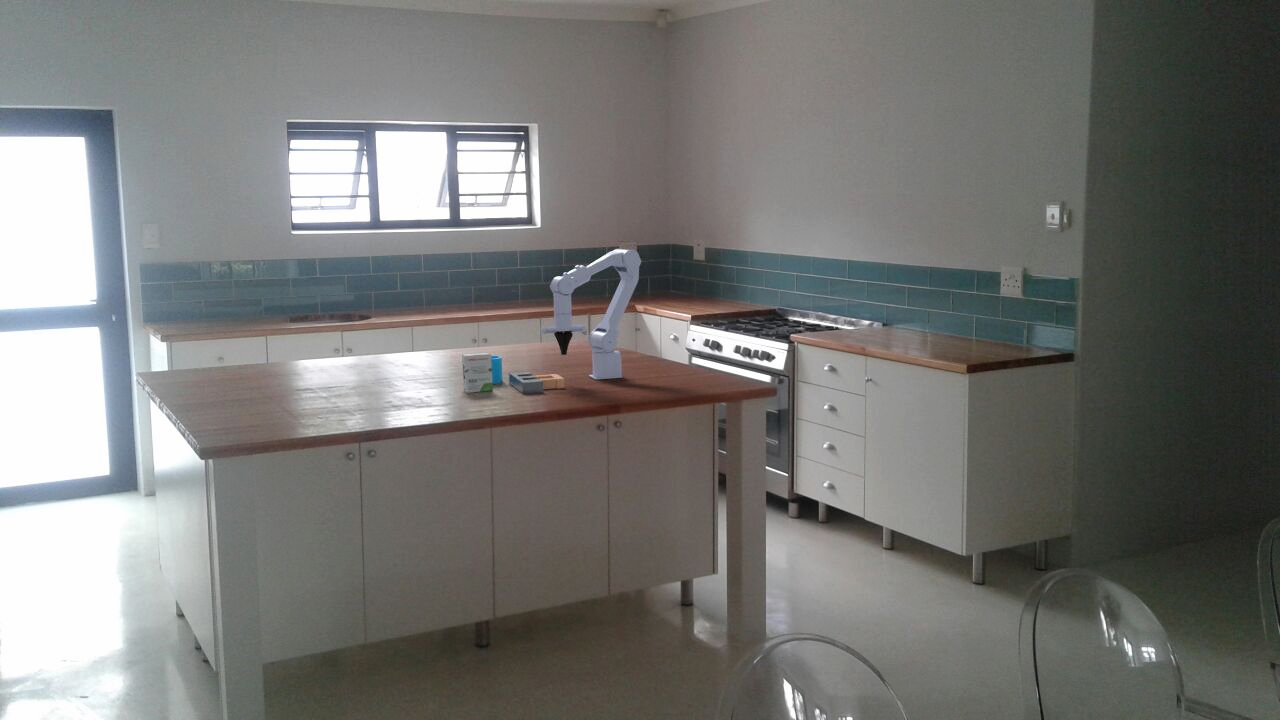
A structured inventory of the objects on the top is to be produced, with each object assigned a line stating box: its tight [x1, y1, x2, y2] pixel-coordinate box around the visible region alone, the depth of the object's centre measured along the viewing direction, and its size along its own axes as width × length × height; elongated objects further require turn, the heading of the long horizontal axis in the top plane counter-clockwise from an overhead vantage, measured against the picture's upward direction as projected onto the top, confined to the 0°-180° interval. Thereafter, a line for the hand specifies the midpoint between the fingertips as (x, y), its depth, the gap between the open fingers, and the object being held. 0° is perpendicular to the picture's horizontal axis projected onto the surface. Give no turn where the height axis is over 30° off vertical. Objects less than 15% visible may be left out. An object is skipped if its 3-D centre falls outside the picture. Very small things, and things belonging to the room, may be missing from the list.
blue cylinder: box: [491, 355, 503, 385], centre depth 376 cm, size 12×8×8 cm
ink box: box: [461, 352, 494, 394], centre depth 358 cm, size 9×5×12 cm, turn 111°
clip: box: [535, 373, 566, 390], centre depth 365 cm, size 8×10×3 cm
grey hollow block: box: [508, 371, 544, 395], centre depth 362 cm, size 6×20×4 cm, turn 19°
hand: (563, 354), depth 371 cm, fingers closed
